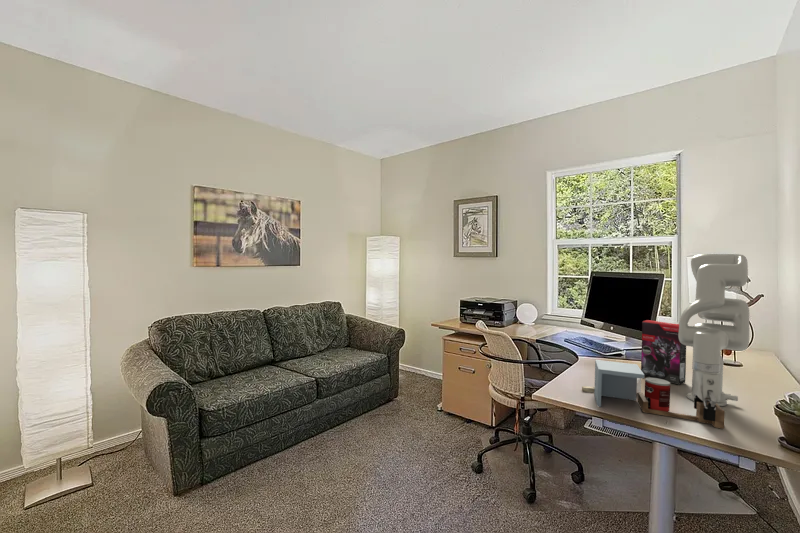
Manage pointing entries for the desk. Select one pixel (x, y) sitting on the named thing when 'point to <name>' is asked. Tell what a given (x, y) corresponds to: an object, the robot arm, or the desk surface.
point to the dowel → (587, 389)
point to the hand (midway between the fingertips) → (704, 414)
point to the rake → (699, 414)
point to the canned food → (657, 394)
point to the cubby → (616, 380)
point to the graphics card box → (663, 352)
